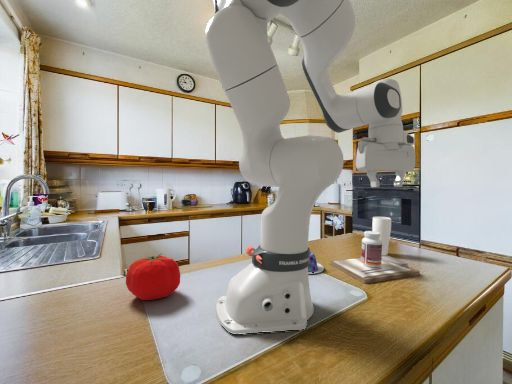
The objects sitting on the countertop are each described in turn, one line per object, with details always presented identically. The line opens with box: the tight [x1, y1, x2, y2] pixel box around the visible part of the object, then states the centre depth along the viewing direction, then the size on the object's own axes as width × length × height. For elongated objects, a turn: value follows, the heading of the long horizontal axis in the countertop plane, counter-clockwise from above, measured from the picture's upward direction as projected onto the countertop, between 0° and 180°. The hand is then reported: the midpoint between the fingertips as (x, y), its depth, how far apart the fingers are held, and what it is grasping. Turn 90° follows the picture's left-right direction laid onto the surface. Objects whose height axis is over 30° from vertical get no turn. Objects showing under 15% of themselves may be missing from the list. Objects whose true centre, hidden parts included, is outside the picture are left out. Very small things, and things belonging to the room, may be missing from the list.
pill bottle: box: [360, 230, 382, 268], centre depth 79 cm, size 6×6×11 cm
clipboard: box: [329, 255, 421, 284], centre depth 79 cm, size 22×16×2 cm
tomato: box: [125, 252, 181, 301], centre depth 59 cm, size 11×13×10 cm
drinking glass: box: [371, 216, 392, 256], centre depth 95 cm, size 7×7×15 cm
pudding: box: [308, 251, 325, 275], centre depth 79 cm, size 12×12×5 cm
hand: (386, 186), depth 68 cm, fingers open, 8 cm apart
